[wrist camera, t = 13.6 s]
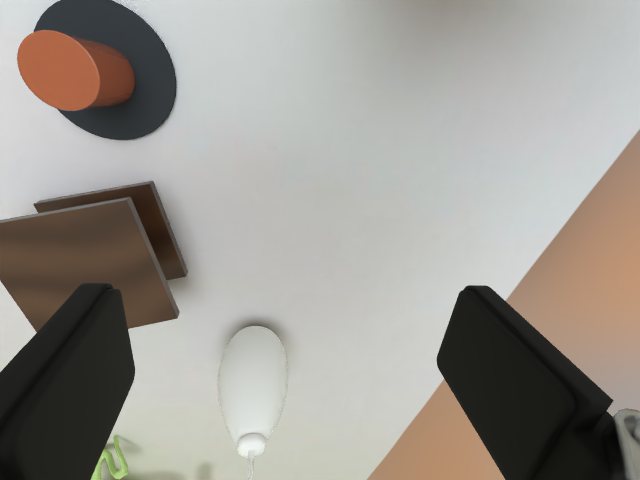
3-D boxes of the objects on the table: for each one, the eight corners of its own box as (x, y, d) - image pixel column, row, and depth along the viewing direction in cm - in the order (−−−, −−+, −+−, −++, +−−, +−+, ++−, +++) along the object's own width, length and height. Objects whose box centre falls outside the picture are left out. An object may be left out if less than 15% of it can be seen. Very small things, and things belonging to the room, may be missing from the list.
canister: (66, 39, 27) (5, 26, 20) (130, 45, 27) (90, 33, 21) (80, 103, 29) (29, 108, 22) (139, 106, 29) (106, 112, 23)
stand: (31, 196, 32) (-37, 229, 25) (156, 175, 33) (126, 200, 26) (87, 296, 37) (45, 346, 30) (193, 274, 38) (177, 318, 31)
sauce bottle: (222, 355, 44) (199, 512, 28) (226, 308, 41) (203, 454, 25) (280, 357, 46) (289, 505, 30) (288, 312, 42) (304, 450, 26)
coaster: (16, -12, 25) (11, -14, 25) (167, 5, 27) (166, 3, 27) (56, 136, 30) (52, 136, 29) (182, 141, 32) (181, 142, 31)
